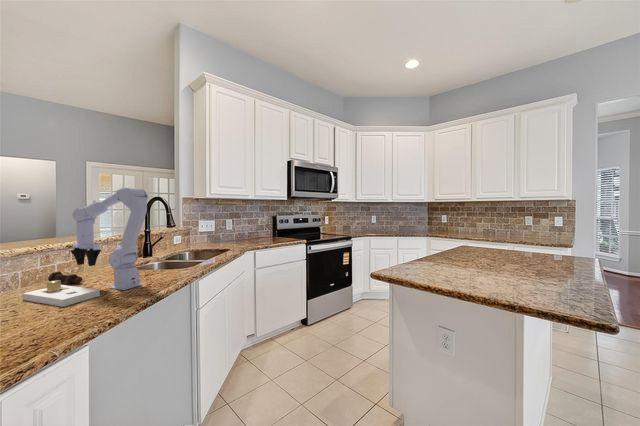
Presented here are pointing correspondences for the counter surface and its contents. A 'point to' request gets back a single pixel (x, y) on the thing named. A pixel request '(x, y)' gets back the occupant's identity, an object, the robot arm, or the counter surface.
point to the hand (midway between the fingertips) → (86, 265)
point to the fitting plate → (61, 295)
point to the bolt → (65, 278)
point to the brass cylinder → (53, 286)
